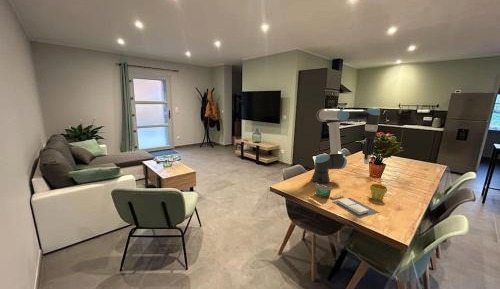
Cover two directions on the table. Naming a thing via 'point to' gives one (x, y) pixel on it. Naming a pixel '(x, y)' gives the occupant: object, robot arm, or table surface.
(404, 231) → the table surface
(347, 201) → the tile
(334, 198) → the turner
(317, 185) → the food container
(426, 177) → the table surface
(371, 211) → the mat
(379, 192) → the plant pot
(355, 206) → the tile
